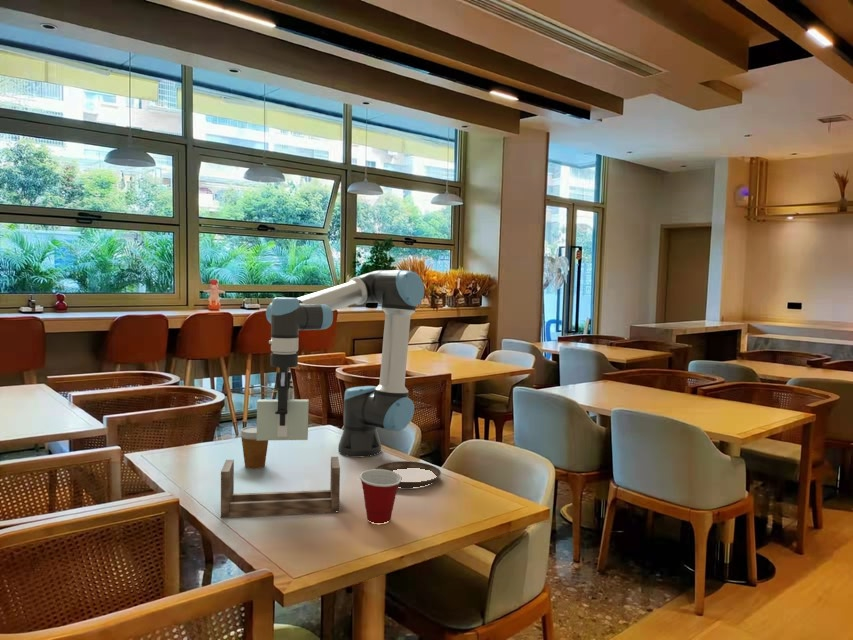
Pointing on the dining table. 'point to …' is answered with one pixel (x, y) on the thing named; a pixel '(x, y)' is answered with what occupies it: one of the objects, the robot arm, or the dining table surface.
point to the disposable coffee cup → (253, 448)
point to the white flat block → (269, 419)
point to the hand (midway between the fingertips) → (282, 434)
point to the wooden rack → (278, 497)
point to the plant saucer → (409, 464)
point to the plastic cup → (379, 493)
